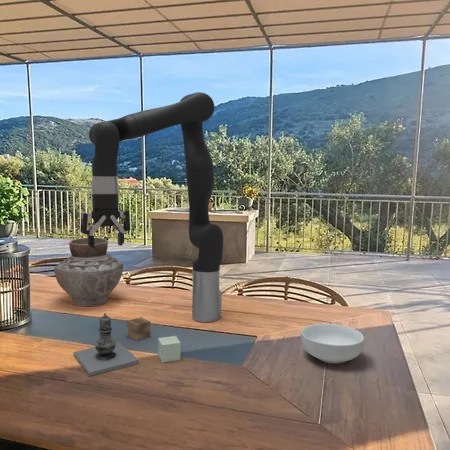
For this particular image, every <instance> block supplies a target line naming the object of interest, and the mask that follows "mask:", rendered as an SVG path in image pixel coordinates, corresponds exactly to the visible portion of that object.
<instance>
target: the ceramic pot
mask: <svg viewBox="0 0 450 450" xmlns="http://www.w3.org/2000/svg"><path fill="white" fill-rule="evenodd" d="M108 243H109V241H108V239H107V238H103V237H102V238H101V237H94V245H95V248H90V246H88V237H84V238H83V237H81V238H74V239H71V240H69V244H68V245H69V251H70V253H71V255H70V256H68V257H67V258H65V259H64V260H62V261H61V262H60V263H58V264H57V265H55V267H54V268H53V271H54V276H55V279H56V281H57V283H58V285H59V286H60V288H61V289H62V290H63V291H64V292H65V293H67V294H68V295H69V297H71V303H72V305H75V306H78V307H84V308H86V307H87V308H88V307H89V308H90V307H97V306H102V305H105V304H106V303H107V302H108V301H109V300H108V299H109V294H111V293H112V292H113V291H114V289H115V288H116V287H117V285H118V284H119V282H120V281H121V277H122V276H123V271H124V264H123V262H122V261H120V260H119V259H117V258H115V257H114V256H112V255H111V254H110V255H109V254H107V251H108Z"/></svg>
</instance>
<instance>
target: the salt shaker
mask: <svg viewBox="0 0 450 450" xmlns="http://www.w3.org/2000/svg"><path fill="white" fill-rule="evenodd" d="M97 331H98V333H99V337H98V340H96V341H95V342H94V343H93V346H94V347H95V348H96V350H97V351H98V352H99V353H98V354H97V355H96V358H97V359H99V360H109V359H112V358H114V357H115V356H116V354H115V353H114V352H112V351H113V350H114V349H115V347H116V344H117V342H118V341H117V340H116V339H113V338H112V331H113V328H112V318H111V317H110V316H108V315H107V313H106V312H105V313H104V314H103V315H102V316H101V317H100V318H99V329H98V330H97Z"/></svg>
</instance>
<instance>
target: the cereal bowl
mask: <svg viewBox="0 0 450 450" xmlns="http://www.w3.org/2000/svg"><path fill="white" fill-rule="evenodd" d="M300 339H301V345H302V347H303V348H304V350H305V351H306V352H307V353H308V354H309V355H310V356H312V357H315V358H317V359H318V360H319V361H322V362H324V363H327V364H342V363H345V362H347V361H348V362H349V361H351V360H354V359H356V358H357V357H358V356H359V355H361V353H362V351H363V348H364V347H365V346H364V344H365V337H364V335H363V334H362V333H361V331H359V330H357V329H355V328H353V327H349V326H346V325H342V324H336V323H315V324H309V325H307V326H305V327H303V328H302V329H301V331H300Z"/></svg>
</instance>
